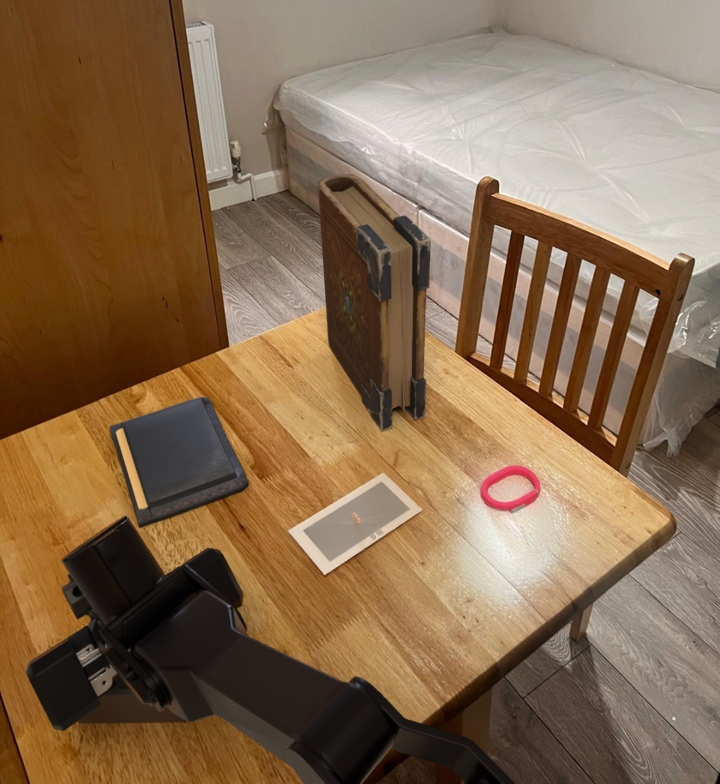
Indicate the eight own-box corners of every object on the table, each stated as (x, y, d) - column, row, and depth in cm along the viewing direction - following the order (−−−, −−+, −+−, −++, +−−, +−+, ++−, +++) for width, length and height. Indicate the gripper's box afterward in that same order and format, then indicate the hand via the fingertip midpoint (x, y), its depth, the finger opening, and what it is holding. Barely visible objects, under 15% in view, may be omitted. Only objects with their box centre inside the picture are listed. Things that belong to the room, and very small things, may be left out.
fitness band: (500, 521, 91) (501, 513, 90) (471, 489, 95) (472, 482, 94) (549, 494, 94) (550, 486, 94) (519, 465, 99) (520, 457, 98)
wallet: (249, 479, 95) (131, 520, 90) (250, 489, 96) (134, 530, 91) (209, 387, 110) (106, 418, 105) (211, 396, 111) (109, 427, 106)
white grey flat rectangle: (288, 536, 90) (287, 525, 89) (383, 478, 97) (383, 466, 96) (325, 580, 85) (324, 569, 84) (422, 515, 92) (422, 504, 91)
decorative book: (424, 417, 106) (431, 239, 89) (380, 432, 104) (378, 252, 87) (360, 329, 124) (355, 166, 107) (321, 340, 122) (309, 176, 105)
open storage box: (186, 722, 72) (177, 694, 69) (79, 723, 72) (65, 695, 69) (205, 621, 81) (198, 592, 78) (109, 623, 81) (98, 594, 78)
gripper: (210, 494, 65) (173, 503, 79) (-3, 622, 56) (-4, 607, 69) (268, 606, 65) (221, 596, 78) (63, 755, 55) (49, 713, 68)
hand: (126, 623), depth 73 cm, fingers closed on power adapter, 6 cm apart
